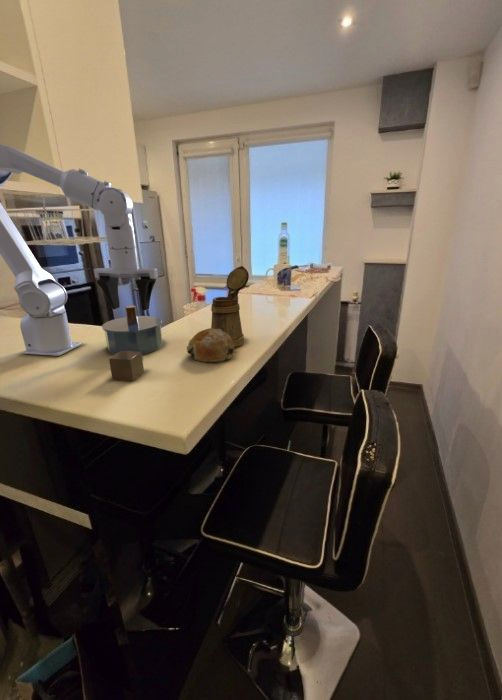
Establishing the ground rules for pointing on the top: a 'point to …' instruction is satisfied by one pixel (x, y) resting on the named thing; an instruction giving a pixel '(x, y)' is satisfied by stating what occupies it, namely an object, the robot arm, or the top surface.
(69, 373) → the top surface
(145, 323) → the bowl lid
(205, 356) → the bread roll
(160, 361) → the top surface
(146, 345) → the bowl
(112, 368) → the block
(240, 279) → the wooden mug
